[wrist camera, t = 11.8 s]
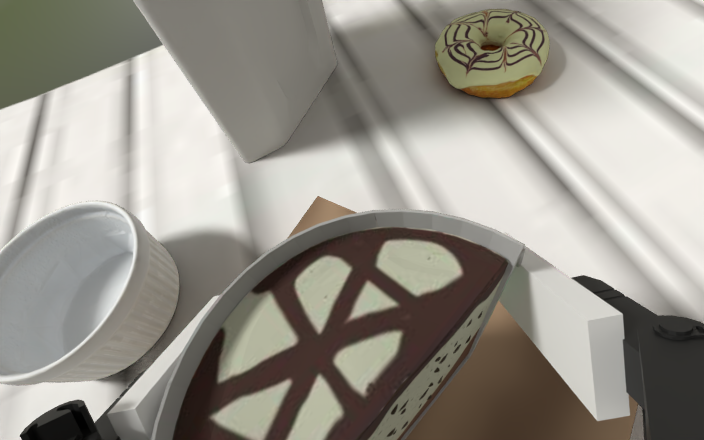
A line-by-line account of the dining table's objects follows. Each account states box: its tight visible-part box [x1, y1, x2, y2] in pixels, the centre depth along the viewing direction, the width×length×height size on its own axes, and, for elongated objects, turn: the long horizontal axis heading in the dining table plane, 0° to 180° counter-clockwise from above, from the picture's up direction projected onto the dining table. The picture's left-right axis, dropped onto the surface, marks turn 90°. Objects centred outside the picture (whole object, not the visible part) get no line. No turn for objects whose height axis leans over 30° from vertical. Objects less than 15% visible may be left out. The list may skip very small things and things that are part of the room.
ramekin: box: [0, 201, 180, 386], centre depth 27 cm, size 13×13×7 cm
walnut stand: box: [287, 196, 638, 440], centre depth 22 cm, size 22×18×4 cm
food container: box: [151, 209, 525, 440], centre depth 13 cm, size 12×6×10 cm, turn 135°
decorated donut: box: [435, 9, 550, 98], centre depth 36 cm, size 10×11×4 cm
